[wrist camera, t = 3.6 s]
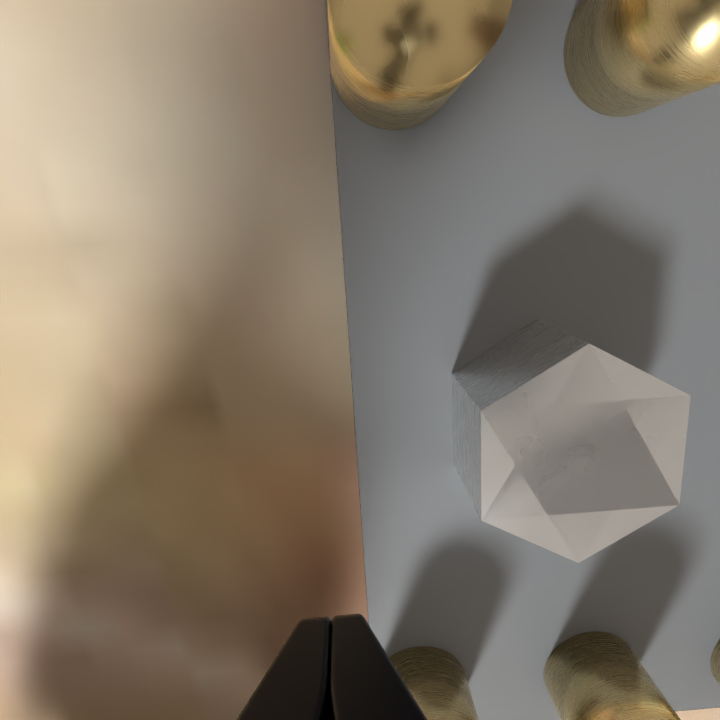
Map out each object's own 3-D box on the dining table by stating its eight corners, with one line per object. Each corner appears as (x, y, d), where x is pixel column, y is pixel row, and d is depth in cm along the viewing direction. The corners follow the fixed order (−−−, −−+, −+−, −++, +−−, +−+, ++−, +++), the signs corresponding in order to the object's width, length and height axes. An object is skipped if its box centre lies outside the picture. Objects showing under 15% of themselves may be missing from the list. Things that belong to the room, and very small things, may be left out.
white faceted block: (453, 504, 15) (481, 571, 12) (450, 324, 14) (480, 350, 11) (609, 492, 15) (674, 555, 12) (621, 312, 14) (696, 335, 11)
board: (375, 716, 18) (376, 738, 17) (324, -19, 12) (323, -35, 12) (772, 681, 18) (791, 701, 17) (895, -48, 13) (931, -66, 12)
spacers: (375, 726, 17) (387, 873, 13) (324, -9, 12) (318, -125, 8) (793, 689, 17) (925, 822, 13) (927, -41, 12) (1204, -167, 8)
